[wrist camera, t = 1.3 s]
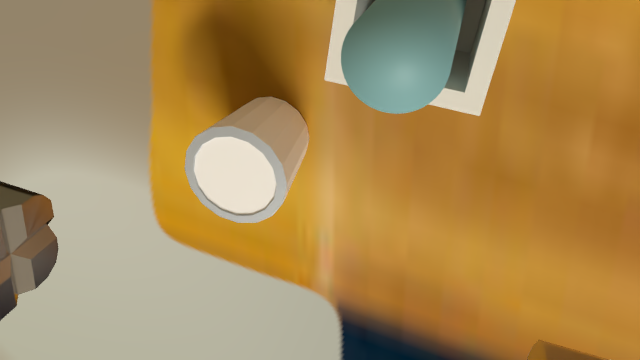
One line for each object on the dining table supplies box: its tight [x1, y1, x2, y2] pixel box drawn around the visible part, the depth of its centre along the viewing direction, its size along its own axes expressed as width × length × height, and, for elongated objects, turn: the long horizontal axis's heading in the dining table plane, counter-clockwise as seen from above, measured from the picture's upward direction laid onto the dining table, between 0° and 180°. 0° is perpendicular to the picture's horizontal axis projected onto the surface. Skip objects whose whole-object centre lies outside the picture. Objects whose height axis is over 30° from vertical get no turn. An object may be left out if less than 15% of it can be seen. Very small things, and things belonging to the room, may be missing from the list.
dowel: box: [341, 0, 467, 114], centre depth 26 cm, size 4×4×14 cm
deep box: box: [324, 0, 516, 116], centre depth 29 cm, size 8×8×8 cm
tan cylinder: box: [185, 97, 309, 223], centre depth 37 cm, size 7×7×7 cm
